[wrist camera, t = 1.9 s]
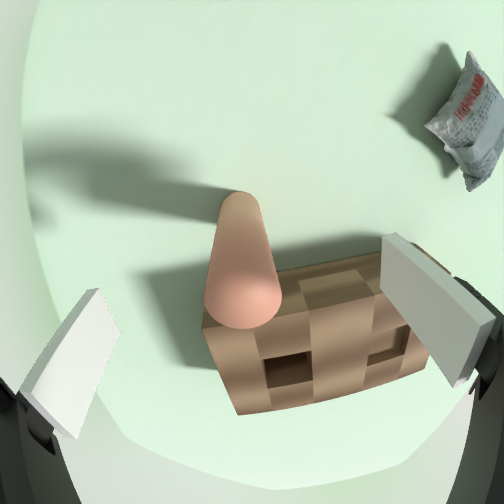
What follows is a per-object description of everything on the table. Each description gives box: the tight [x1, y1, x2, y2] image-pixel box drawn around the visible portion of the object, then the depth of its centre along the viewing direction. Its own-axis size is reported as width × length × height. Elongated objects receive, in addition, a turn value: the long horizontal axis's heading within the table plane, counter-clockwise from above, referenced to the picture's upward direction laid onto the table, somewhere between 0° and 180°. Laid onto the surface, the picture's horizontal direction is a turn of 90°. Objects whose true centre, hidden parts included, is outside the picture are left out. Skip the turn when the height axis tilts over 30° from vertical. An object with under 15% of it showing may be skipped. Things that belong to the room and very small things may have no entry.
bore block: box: [202, 244, 451, 415], centre depth 24 cm, size 12×20×6 cm, turn 100°
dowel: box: [204, 191, 282, 329], centre depth 16 cm, size 3×3×12 cm
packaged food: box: [424, 51, 504, 192], centre depth 16 cm, size 9×12×5 cm
